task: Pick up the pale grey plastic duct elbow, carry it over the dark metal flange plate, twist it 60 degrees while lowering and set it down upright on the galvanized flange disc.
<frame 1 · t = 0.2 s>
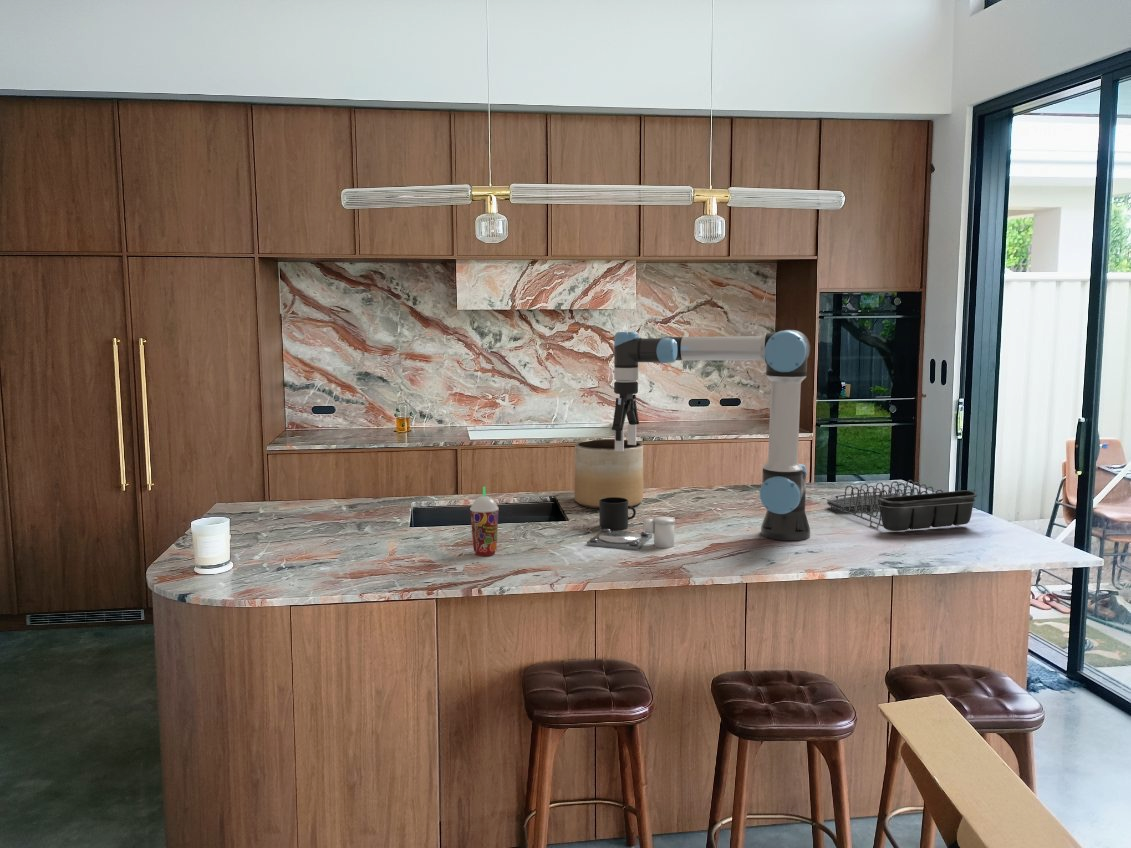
hand: (625, 447, 282), 27 cm above the worktop, fingers open, 13 cm apart
duct flange: (619, 541, 275), on the worktop
planter: (608, 503, 329), on the worktop
dish rack: (893, 519, 304), on the worktop
smoothie: (485, 554, 261), on the worktop
mug: (617, 527, 293), on the worktop
elbow: (664, 545, 270), on the worktop
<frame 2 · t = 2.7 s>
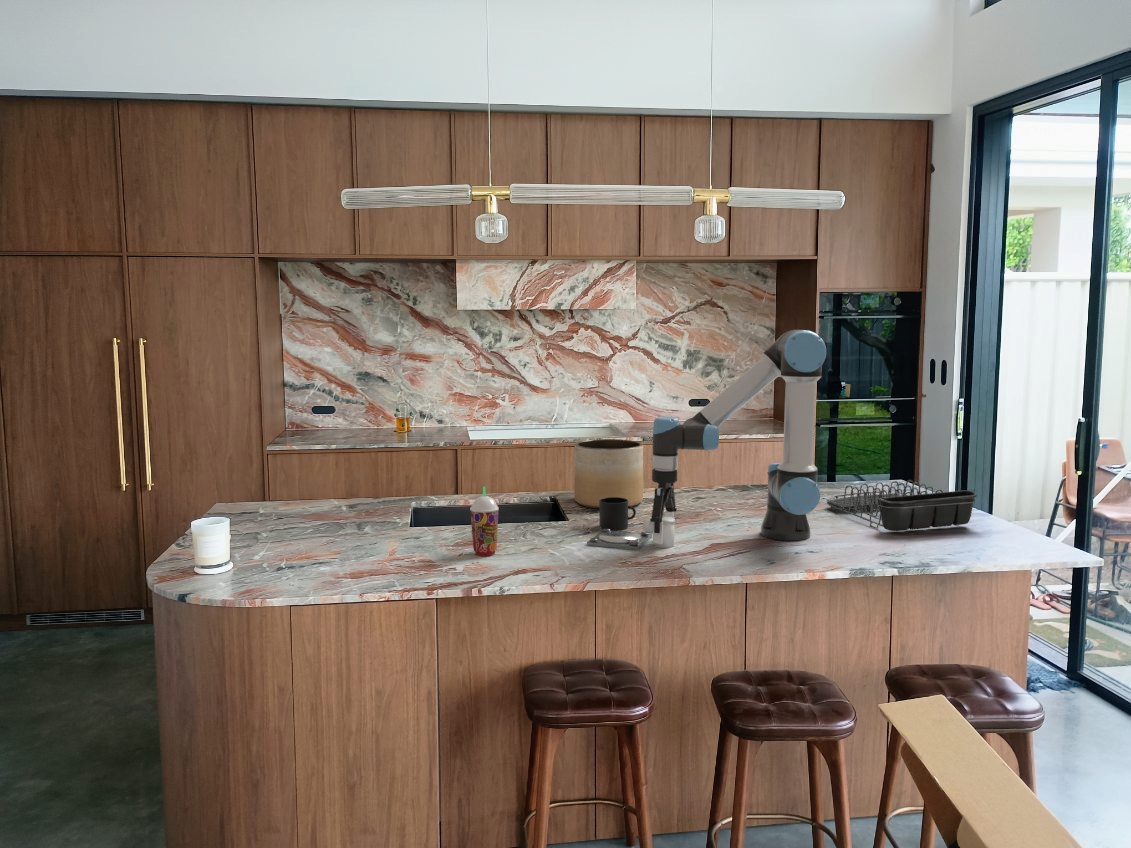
hand: (663, 537, 270), 2 cm above the worktop, fingers open, 13 cm apart
nothing on the worktop moved.
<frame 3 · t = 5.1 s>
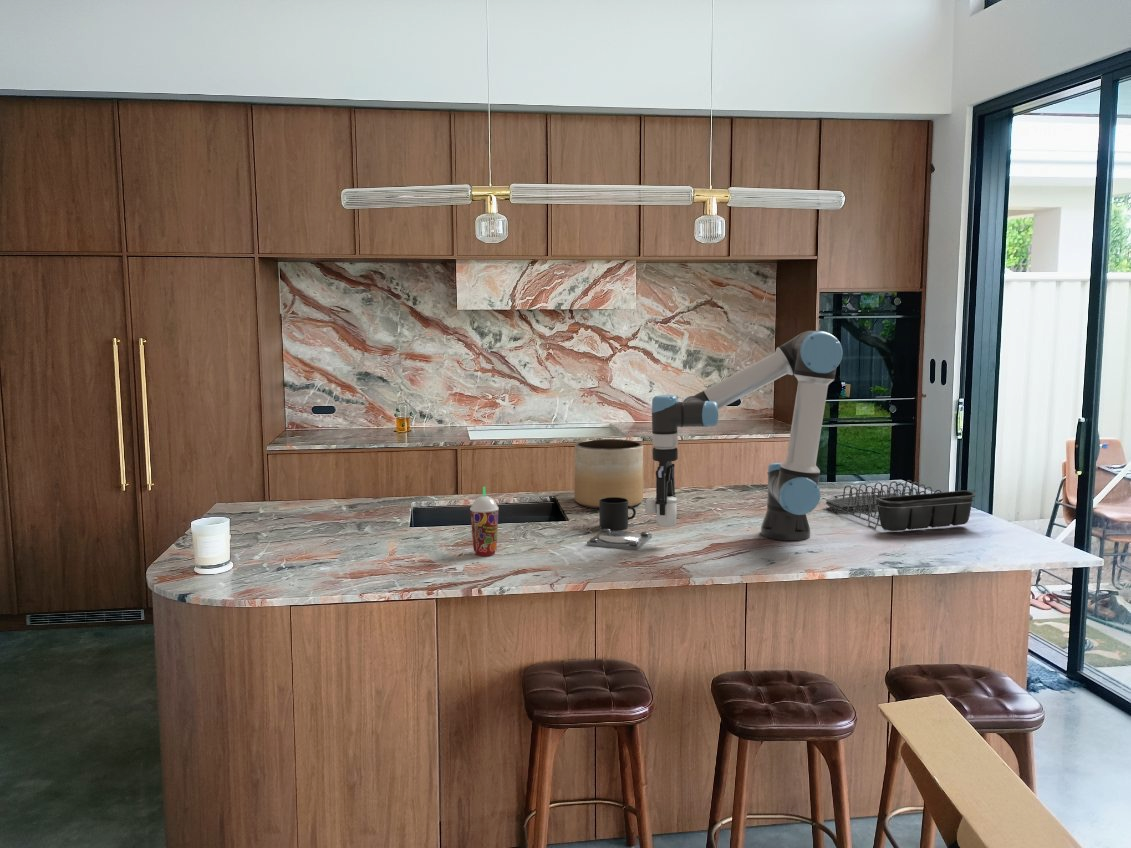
hand: (666, 522, 269), 7 cm above the worktop, fingers closed on elbow, 6 cm apart
elbow: (666, 524, 269), point 6 cm above the worktop, touching gripper
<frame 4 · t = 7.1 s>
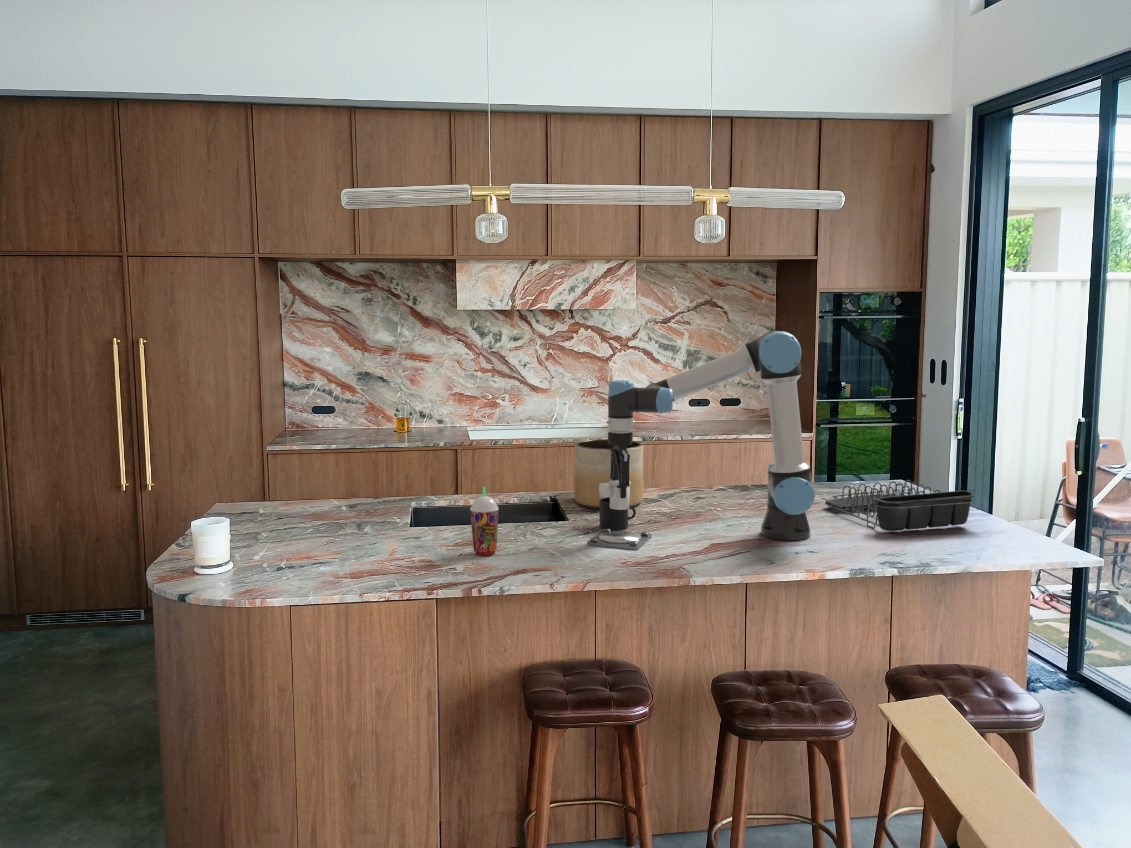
hand: (619, 505, 273), 11 cm above the worktop, fingers closed on elbow, 6 cm apart
elbow: (619, 507, 273), point 11 cm above the worktop, touching gripper
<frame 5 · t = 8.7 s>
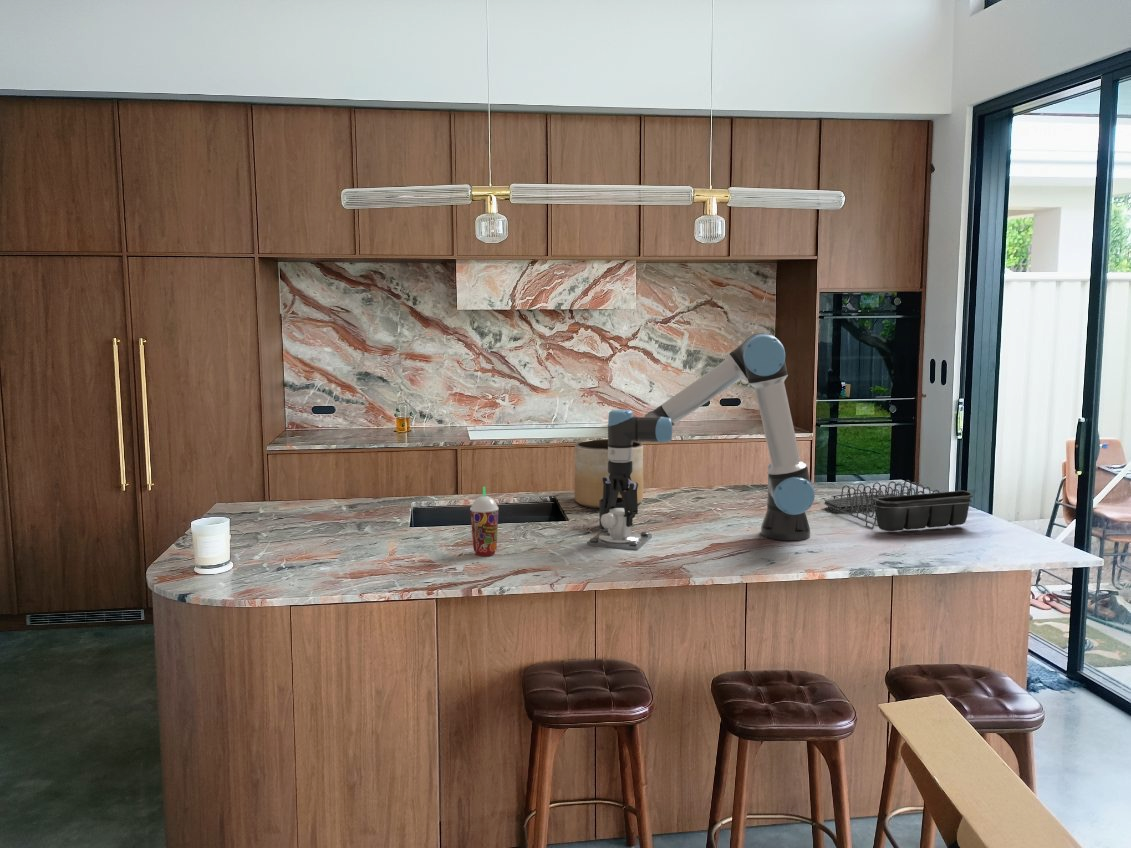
hand: (619, 534, 274), 2 cm above the worktop, fingers closed on elbow, 6 cm apart
elbow: (619, 536, 275), point 2 cm above the worktop, touching duct flange, gripper
when the fingers open (2 cm above the worktop, at t = 9.4 s): elbow stays where it is, resting on duct flange.
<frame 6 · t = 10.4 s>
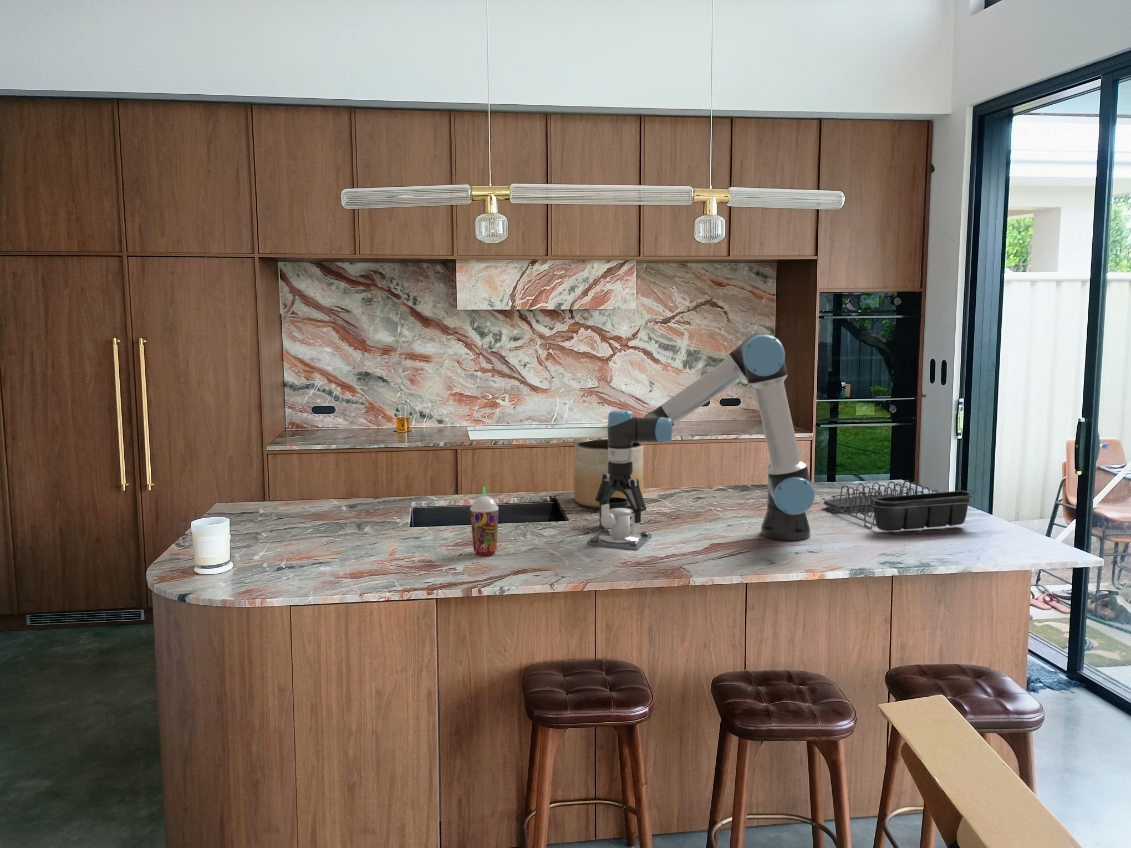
hand: (620, 529, 274), 4 cm above the worktop, fingers open, 13 cm apart
elbow: (619, 536, 275), point 2 cm above the worktop, touching duct flange
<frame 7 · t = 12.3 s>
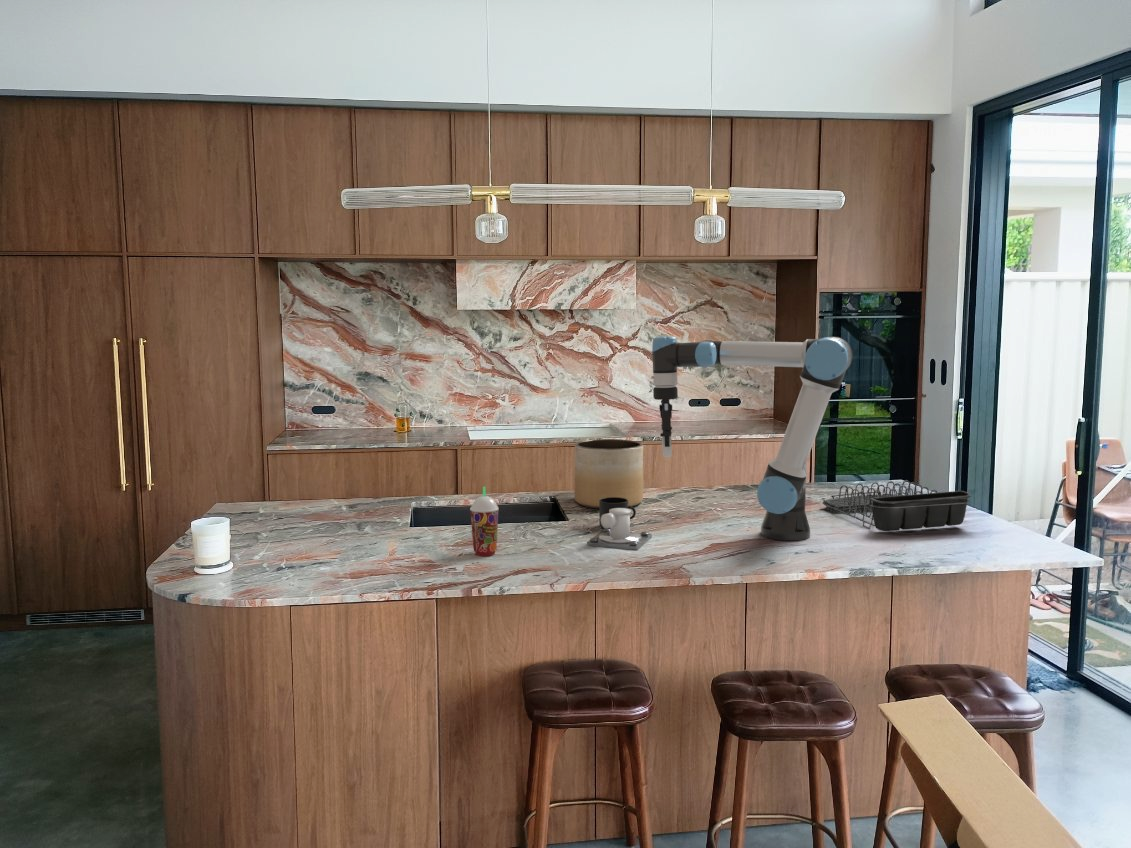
hand: (666, 453, 280), 26 cm above the worktop, fingers open, 13 cm apart
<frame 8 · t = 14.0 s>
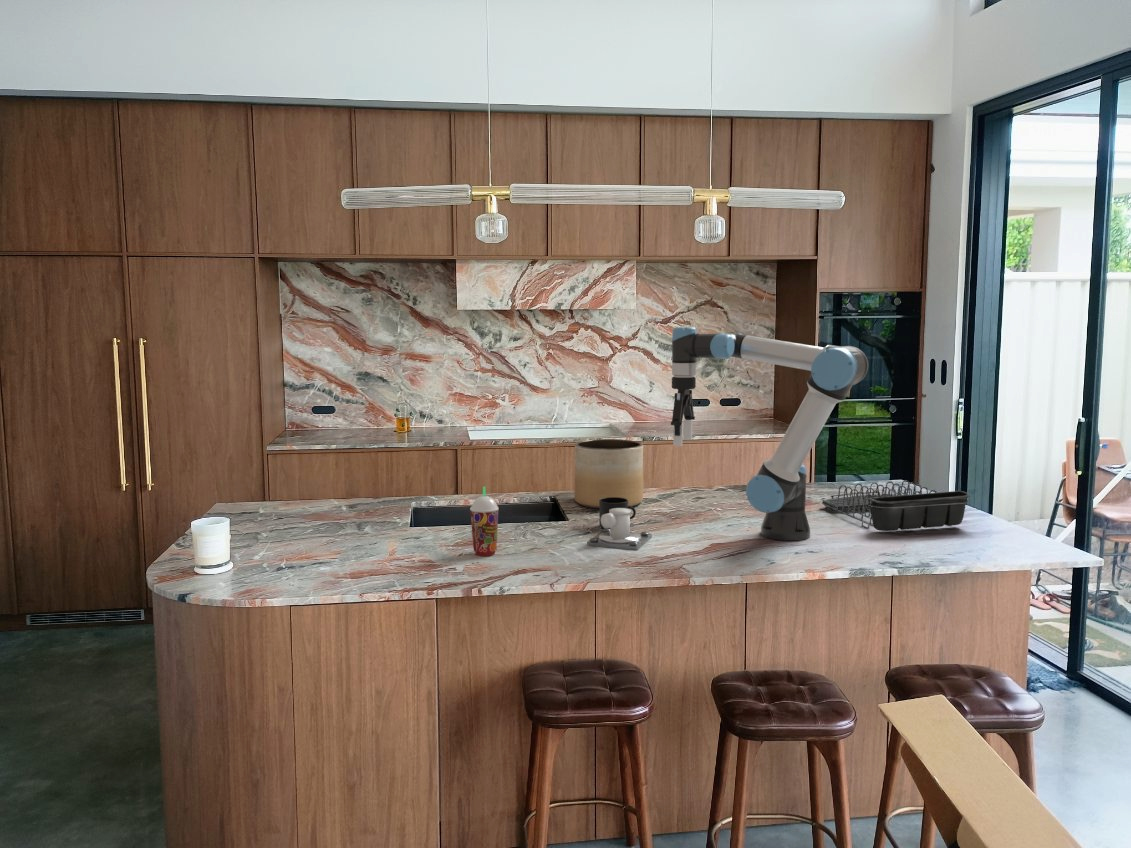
hand: (682, 442, 283), 29 cm above the worktop, fingers open, 13 cm apart
at the end: elbow inside the target area on the duct flange (0.1 cm from its centre), point 1.6 cm above the duct flange's base; elbow tilted 0°; the gripper is holding nothing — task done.
